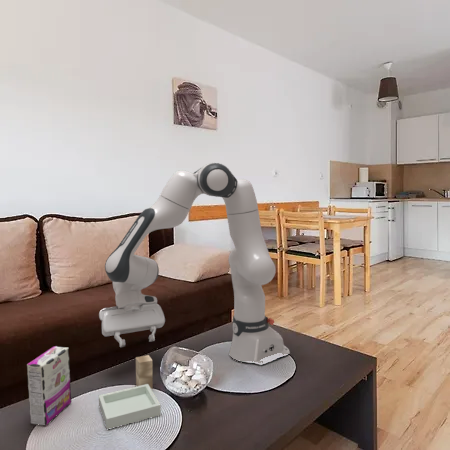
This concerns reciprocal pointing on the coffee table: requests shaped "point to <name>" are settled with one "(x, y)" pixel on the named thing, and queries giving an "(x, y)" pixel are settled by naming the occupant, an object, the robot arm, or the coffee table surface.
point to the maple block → (144, 371)
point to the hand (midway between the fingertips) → (137, 343)
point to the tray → (129, 406)
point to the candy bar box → (49, 385)
